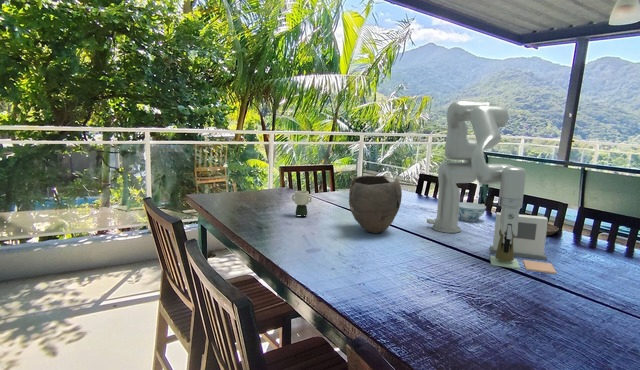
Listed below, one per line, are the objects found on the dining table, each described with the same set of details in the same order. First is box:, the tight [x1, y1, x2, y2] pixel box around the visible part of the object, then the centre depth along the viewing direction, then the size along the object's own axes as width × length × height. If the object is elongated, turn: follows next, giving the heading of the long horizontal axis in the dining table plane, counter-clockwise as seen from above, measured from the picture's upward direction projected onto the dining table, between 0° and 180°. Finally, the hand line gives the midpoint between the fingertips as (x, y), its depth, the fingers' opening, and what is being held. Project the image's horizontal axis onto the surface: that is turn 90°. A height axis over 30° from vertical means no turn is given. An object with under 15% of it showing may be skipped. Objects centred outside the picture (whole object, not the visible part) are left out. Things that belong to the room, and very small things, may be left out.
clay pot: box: [348, 175, 403, 234], centre depth 171 cm, size 24×24×25 cm
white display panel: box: [489, 211, 549, 261], centre depth 146 cm, size 19×6×15 cm, turn 69°
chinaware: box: [459, 201, 487, 222], centre depth 199 cm, size 15×15×8 cm
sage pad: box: [489, 255, 521, 270], centre depth 138 cm, size 9×9×1 cm
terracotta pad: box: [522, 259, 557, 275], centre depth 134 cm, size 9×9×1 cm
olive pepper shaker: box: [494, 229, 515, 261], centre depth 137 cm, size 6×6×11 cm
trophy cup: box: [291, 190, 313, 216], centre depth 197 cm, size 11×7×13 cm, turn 69°
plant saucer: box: [546, 222, 559, 237], centre depth 181 cm, size 21×21×3 cm
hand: (504, 251), depth 137 cm, fingers closed on olive pepper shaker, 3 cm apart
